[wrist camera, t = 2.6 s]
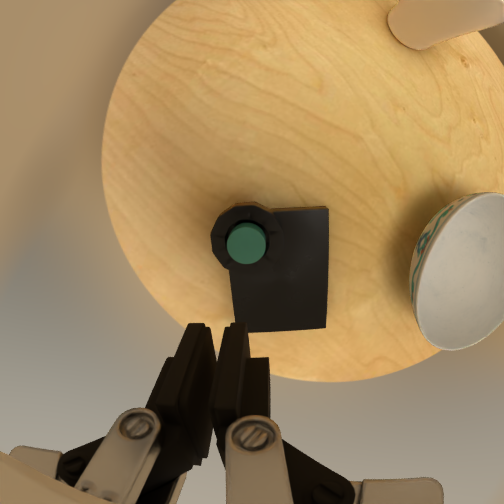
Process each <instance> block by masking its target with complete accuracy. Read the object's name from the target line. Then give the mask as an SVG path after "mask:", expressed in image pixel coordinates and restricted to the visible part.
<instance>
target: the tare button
mask: <svg viewBox="0 0 504 504" xmlns="http://www.w3.org/2000/svg"><path fill="white" fill-rule="evenodd" d="M265 248H266V238H265V234H264V232H263V230H262V229H261V228H260V227H259V226H257V225H256V224H253V223H241V224H239V225H237V226H236V227H234V228H233V230H232V231H231V233H230V235H229V238H228V240H227V250H228V253H229V254H230V256H231V257H232V258H233V259H234V260H235V261H237V262H239V263H242V264H251V263H254V262H256V261H258V260H259V259H260V258H261V257H262V256H263V254H264V252H265Z"/></svg>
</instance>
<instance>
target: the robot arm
mask: <svg viewBox="0 0 504 504" xmlns="http://www.w3.org/2000/svg"><path fill="white" fill-rule="evenodd" d="M213 428H214V431H215V435H216V438H217V443H216V445H217V447H218V450H219V453H220V456H221V459H222V462H223V464H224V467H225V470H226V504H443V503H444V501H443V500H444V497H443V496H444V493H443V488H442V485H441V484H440V483H439V482H438V481H437V480H435V479H433V478H429V477H421V478H408V479H383V480H382V479H373V480H372V479H364V480H363V481H362V482H358V481H348V480H347V479H346V478H344V477H342V476H341V475H339V474H337V473H335V472H334V471H332V470H330V469H329V468H327V467H325V466H324V465H322V464H320V463H319V462H317V461H315V460H314V459H312V458H310V457H309V456H307V455H306V454H304V453H303V452H301V451H299V450H298V449H296V448H295V447H293V446H292V445H290V444H289V443H287V442H286V441H284V440H283V439H282V437H281V432H280V429H279V427H278V425H277V424H276V423H275V422H274V421H273V420H271V419H270V368H269V357H263V358H251V356H250V347H249V337H248V328H247V323H246V322H237V323H231V324H230V327H225V330H224V334H223V338H222V343H221V347H220V352H219V356H218V361H216V355H215V350H214V345H213V339H212V334H211V329H210V327H205V324H204V323H189V324H188V325H187V328H186V330H185V332H184V335H183V337H182V339H181V342H180V344H179V347H178V349H177V351H176V354H175V356H174V357H168V358H167V359H166V361H165V363H164V365H163V367H162V370H161V372H160V374H159V377H158V379H157V381H156V384H155V386H154V388H153V390H152V393H151V395H150V397H149V400H148V402H147V404H146V407H145V408H133V409H130V410H127V411H125V412H124V413H122V414H121V415H120V416H119V417H118V418H117V420H116V421H115V422H114V424H113V426H112V427H111V429H110V430H109V432H108V434H107V435H106V436H105V437H102V438H100V439H98V440H95V441H93V442H90V443H88V444H85V445H83V446H80V447H78V448H75V449H73V450H70V451H68V452H66V453H65V454H62V452H60V451H53V450H46V449H40V448H33V447H28V446H17V447H15V448H14V449H13V450H11V452H10V454H9V455H7V454H5V453H3V452H1V451H0V504H176V502H177V500H178V497H179V495H180V492H181V490H182V487H183V484H184V482H185V479H186V474H187V471H189V470H191V469H192V467H193V465H199V466H201V462H202V458H207V457H208V453H209V447H210V442H211V436H212V430H213Z"/></svg>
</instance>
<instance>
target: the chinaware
mask: <svg viewBox="0 0 504 504" xmlns="http://www.w3.org/2000/svg"><path fill="white" fill-rule="evenodd" d="M409 289H410V298H411V303H412V308H413V312H414V315H415V318H416V321H417V323H418V326H419V328H420V330H421V332H422V334H423V336H424V337H425V338H426V340H427V341H428V342H429V343H431V344H432V345H433V346H435V347H437V348H439V349H443V350H460V349H464V348H467V347H470V346H472V345H474V344H476V343H478V342H480V341H481V340H483V339H484V338H485V337H487V336H488V335H489V334H491V333H492V332H493V331H494V330H495V329H496V328H497V327H498V326H499V325H500V324H501V323H502V322H503V320H504V195H503V194H500V193H493V192H484V193H476V194H471V195H467V196H464V197H461V198H459V199H457V200H455V201H453V202H451V203H449V204H448V205H446V206H445V207H443V208H442V209H441V210H440V211H439V212H438V213H437V214H436V215H435V216H434V217H433V218H432V219H431V220H430V221H429V223H428V224H427V225H426V227H425V228H424V230H423V232H422V233H421V235H420V237H419V239H418V242H417V244H416V247H415V249H414V253H413V256H412V260H411V266H410V275H409Z"/></svg>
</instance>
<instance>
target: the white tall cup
mask: <svg viewBox="0 0 504 504" xmlns="http://www.w3.org/2000/svg"><path fill="white" fill-rule="evenodd" d="M502 23H504V0H399V1H398V2H397V4H396V5H395V6H394V7H393V8H392V9H391V10H390V12H389V14H388V25H389V28H390V30H391V32H392V33H393V35H394V36H395V37H396V38H397V39H398V40H399V41H400V42H401V43H403V44H404V45H406V46H407V47H409V48H412V49H415V50H425V49H428V48H430V47H432V46H434V45H436V44H439V43H441V42H444V41H447V40H450V39H453V38H456V37H459V36H462V35H466V34H469V33H473V32H476V31H480V30H483V29H487V28H491V27H494V26H497V25H500V24H502Z"/></svg>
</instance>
